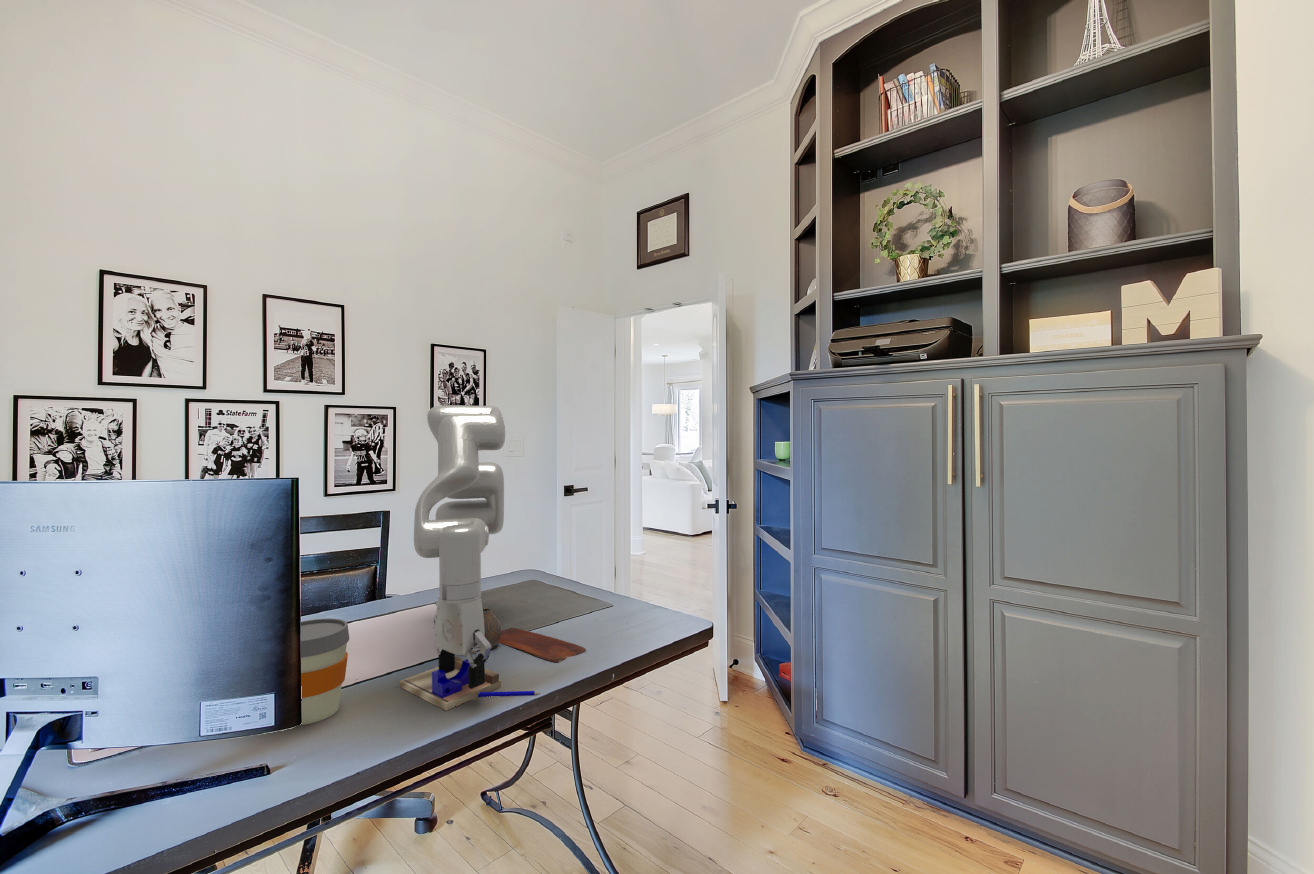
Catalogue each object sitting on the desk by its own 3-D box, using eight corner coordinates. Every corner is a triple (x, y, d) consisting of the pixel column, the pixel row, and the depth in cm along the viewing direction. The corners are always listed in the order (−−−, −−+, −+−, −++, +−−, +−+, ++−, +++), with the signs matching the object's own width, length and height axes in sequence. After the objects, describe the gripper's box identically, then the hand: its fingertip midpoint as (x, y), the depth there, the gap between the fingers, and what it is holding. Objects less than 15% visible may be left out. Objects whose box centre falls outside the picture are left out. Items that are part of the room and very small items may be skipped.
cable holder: (442, 698, 105) (442, 676, 105) (432, 692, 107) (431, 671, 107) (479, 682, 111) (479, 662, 111) (469, 678, 113) (469, 658, 113)
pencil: (449, 699, 108) (449, 694, 108) (450, 697, 109) (450, 692, 109) (539, 696, 108) (539, 691, 109) (540, 694, 109) (540, 689, 109)
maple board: (399, 686, 112) (399, 673, 112) (454, 666, 122) (453, 653, 122) (445, 710, 103) (445, 695, 103) (500, 686, 112) (500, 673, 112)
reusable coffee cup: (352, 717, 100) (351, 633, 100) (266, 738, 94) (265, 647, 93) (347, 690, 111) (346, 613, 111) (269, 707, 104) (268, 625, 104)
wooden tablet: (589, 652, 131) (589, 645, 131) (556, 666, 123) (556, 659, 123) (515, 628, 147) (515, 621, 147) (482, 639, 139) (482, 632, 139)
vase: (507, 646, 133) (506, 609, 133) (480, 655, 128) (479, 616, 128) (491, 639, 138) (491, 603, 138) (464, 647, 133) (464, 609, 133)
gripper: (417, 586, 111) (418, 674, 111) (470, 602, 101) (471, 699, 101) (452, 578, 117) (452, 661, 117) (505, 593, 107) (505, 684, 107)
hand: (461, 678), depth 109 cm, fingers open, 9 cm apart
